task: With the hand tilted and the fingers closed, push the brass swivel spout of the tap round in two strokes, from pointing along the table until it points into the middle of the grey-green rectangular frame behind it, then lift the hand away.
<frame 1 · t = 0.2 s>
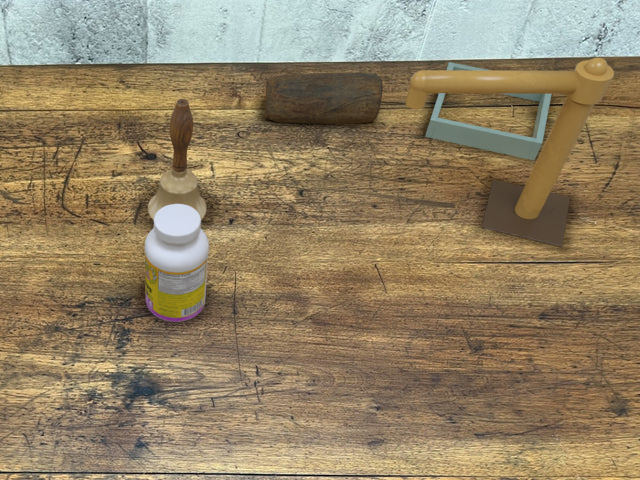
spout: (508, 82, 84), point 18 cm above the table, hinge at 20.0°
supplement bottle: (175, 306, 92), on the table
tap mount: (522, 219, 98), on the table
hand bell: (177, 215, 100), on the table
grey-green rectangular frame: (484, 124, 109), on the table
dark brown wooden log: (317, 120, 111), on the table
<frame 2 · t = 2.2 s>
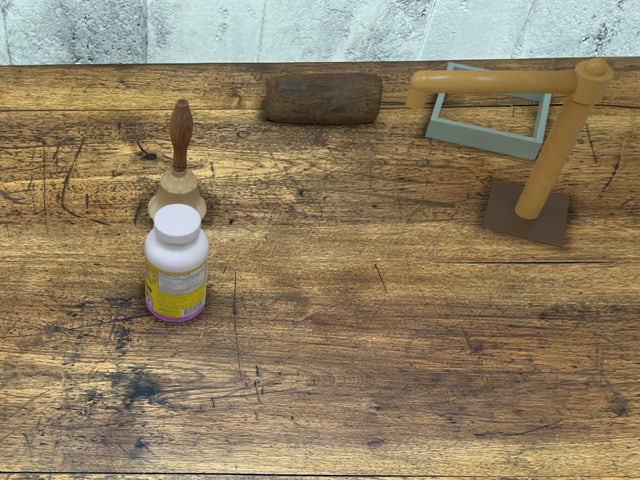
nothing on the table moved.
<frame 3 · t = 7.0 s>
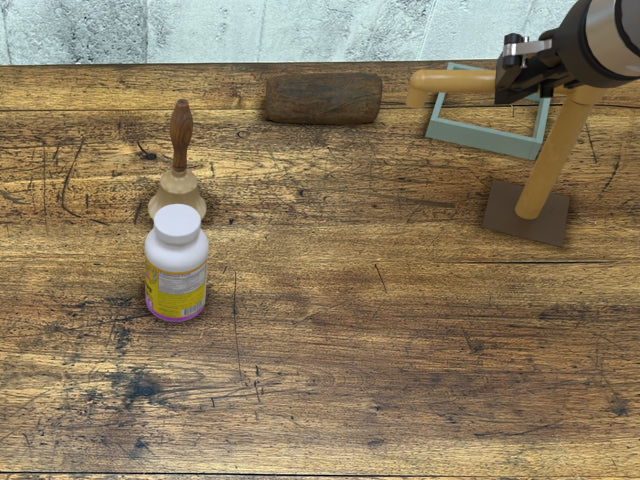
hand: (502, 90, 82), 19 cm above the table, tool tilted 45°, fingers closed
spout: (508, 81, 84), point 18 cm above the table, hinge at 19.5°, touching gripper
everything else where it was.
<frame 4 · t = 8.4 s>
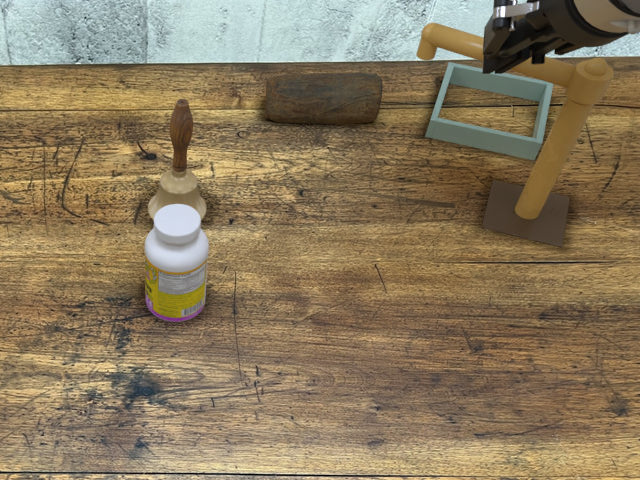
hand: (493, 60, 85), 19 cm above the table, tool tilted 45°, fingers closed
spout: (511, 58, 86), point 18 cm above the table, hinge at -12.1°, touching gripper
everything else where it was.
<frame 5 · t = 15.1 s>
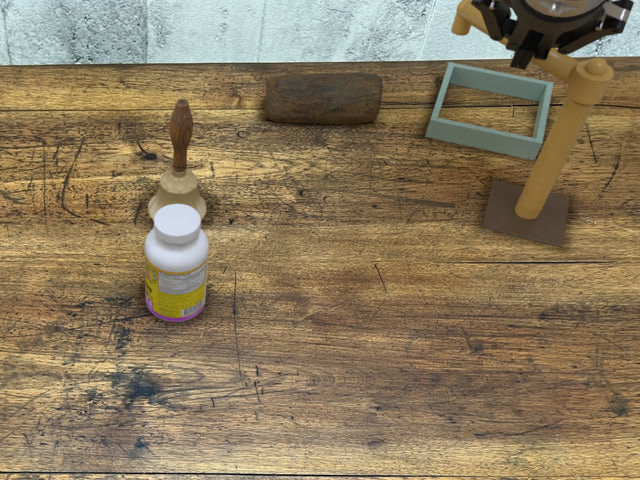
hand: (521, 55, 86), 19 cm above the table, tool tilted 45°, fingers closed
spout: (527, 45, 87), point 18 cm above the table, hinge at -35.5°, touching gripper
everything else where it was.
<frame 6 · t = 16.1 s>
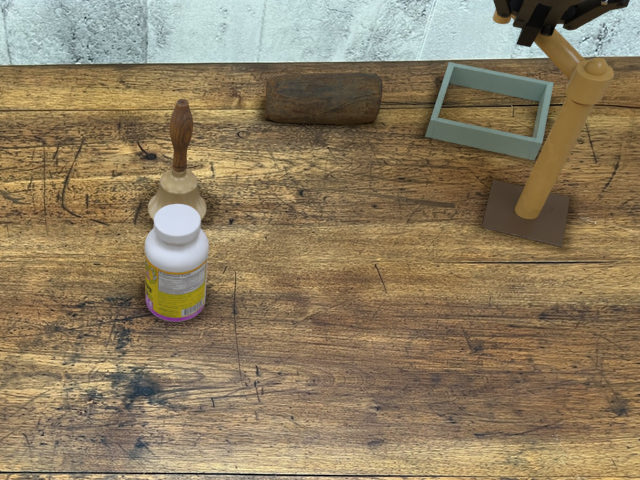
hand: (527, 33, 88), 19 cm above the table, tool tilted 45°, fingers closed
spout: (548, 39, 88), point 18 cm above the table, hinge at -55.0°, touching gripper
everything else where it was.
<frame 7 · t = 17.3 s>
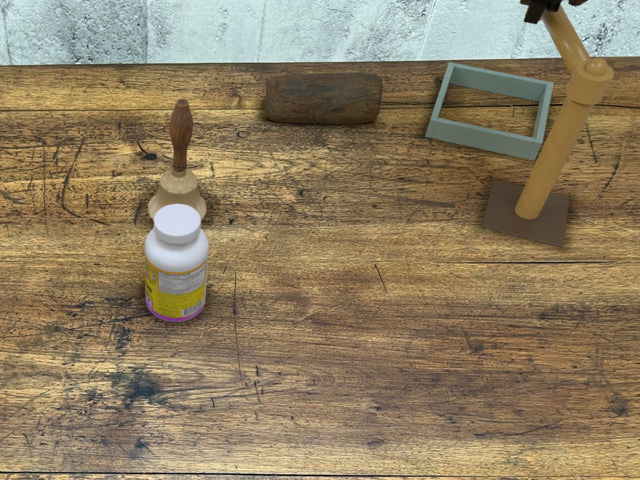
hand: (534, 10, 91), 19 cm above the table, tool tilted 45°, fingers closed
spout: (565, 38, 88), point 18 cm above the table, hinge at -68.2°, touching gripper
everything else where it was.
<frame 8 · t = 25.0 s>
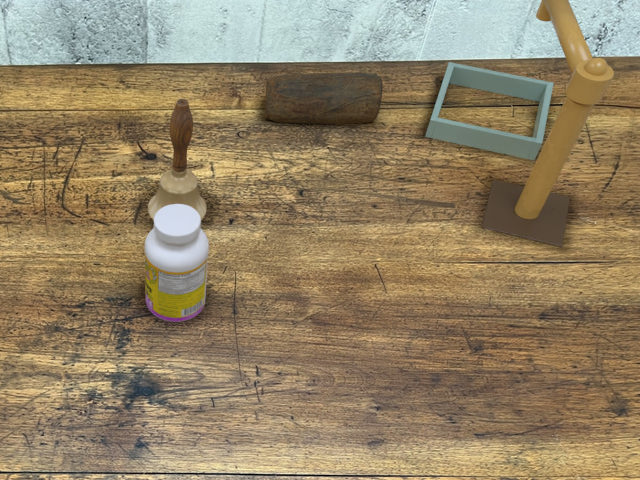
spout: (571, 38, 88), point 18 cm above the table, hinge at -72.5°
everything else where it was.
at the end: spout at -72° (first picture: +20°); spout touching nothing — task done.
